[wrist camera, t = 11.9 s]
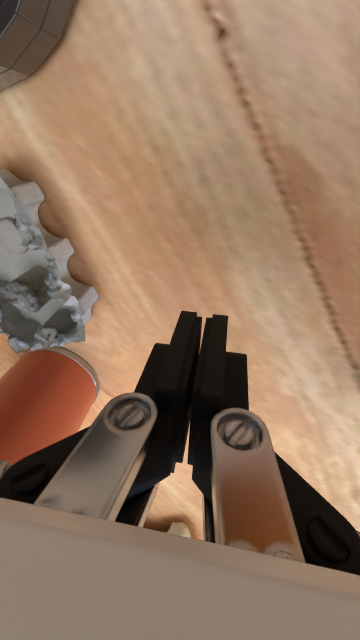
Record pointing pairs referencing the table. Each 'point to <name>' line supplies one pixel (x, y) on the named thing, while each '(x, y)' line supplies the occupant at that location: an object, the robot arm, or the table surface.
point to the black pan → (28, 35)
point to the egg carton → (36, 275)
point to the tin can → (43, 400)
